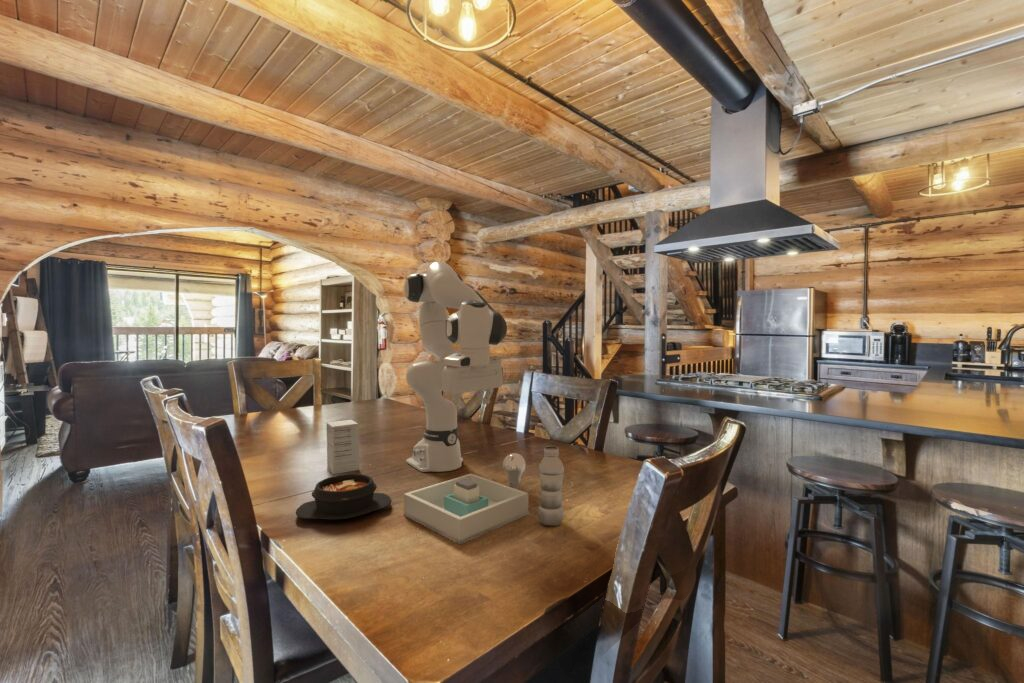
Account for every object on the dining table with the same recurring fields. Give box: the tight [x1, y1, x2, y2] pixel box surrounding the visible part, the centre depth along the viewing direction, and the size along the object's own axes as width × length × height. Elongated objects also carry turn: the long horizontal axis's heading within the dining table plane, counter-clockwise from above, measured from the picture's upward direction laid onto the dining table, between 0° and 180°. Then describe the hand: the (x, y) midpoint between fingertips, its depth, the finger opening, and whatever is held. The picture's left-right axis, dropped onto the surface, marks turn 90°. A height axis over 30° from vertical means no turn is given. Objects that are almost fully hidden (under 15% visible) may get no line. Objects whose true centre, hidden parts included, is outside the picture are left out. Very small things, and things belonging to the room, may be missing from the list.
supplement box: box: [326, 419, 360, 475], centre depth 166 cm, size 10×9×17 cm
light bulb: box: [502, 452, 527, 490], centre depth 143 cm, size 7×7×12 cm
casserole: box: [295, 473, 392, 521], centre depth 128 cm, size 25×19×8 cm
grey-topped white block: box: [454, 479, 479, 504], centre depth 126 cm, size 6×4×8 cm, turn 46°
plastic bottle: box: [537, 445, 565, 527], centre depth 120 cm, size 6×7×20 cm
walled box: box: [403, 473, 529, 545], centre depth 126 cm, size 24×24×6 cm
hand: (473, 406), depth 132 cm, fingers open, 8 cm apart
